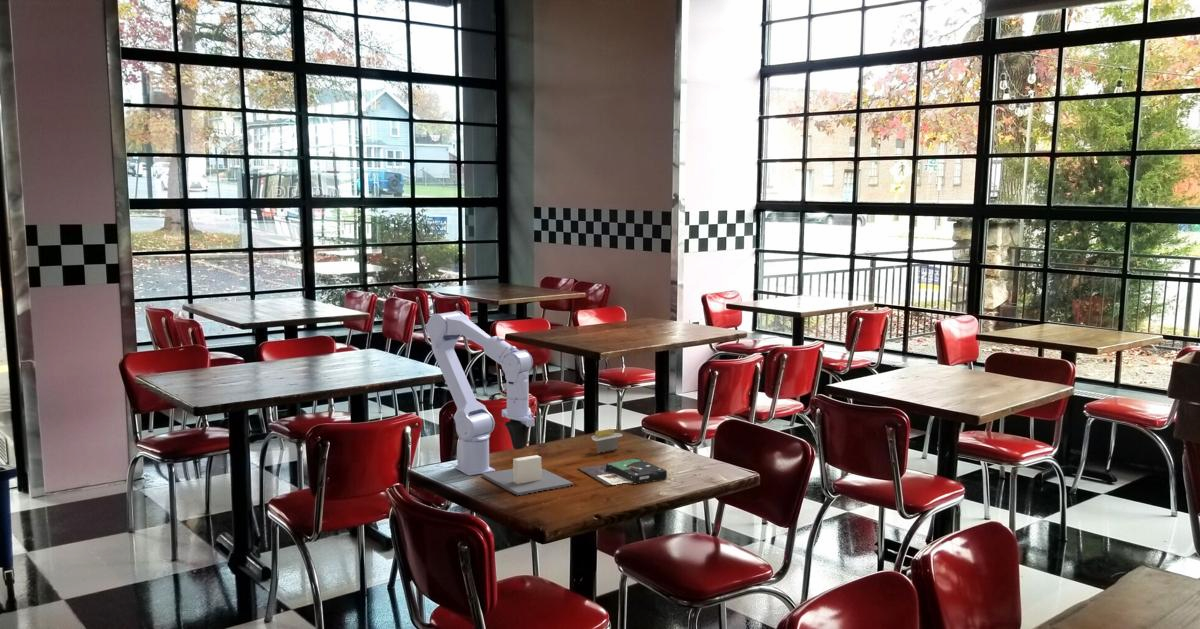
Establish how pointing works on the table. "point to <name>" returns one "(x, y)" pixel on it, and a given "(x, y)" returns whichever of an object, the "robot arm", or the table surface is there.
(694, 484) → the table surface
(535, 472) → the tile
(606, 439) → the grey rimmed container
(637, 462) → the disk drive
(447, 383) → the robot arm
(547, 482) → the mat
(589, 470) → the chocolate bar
